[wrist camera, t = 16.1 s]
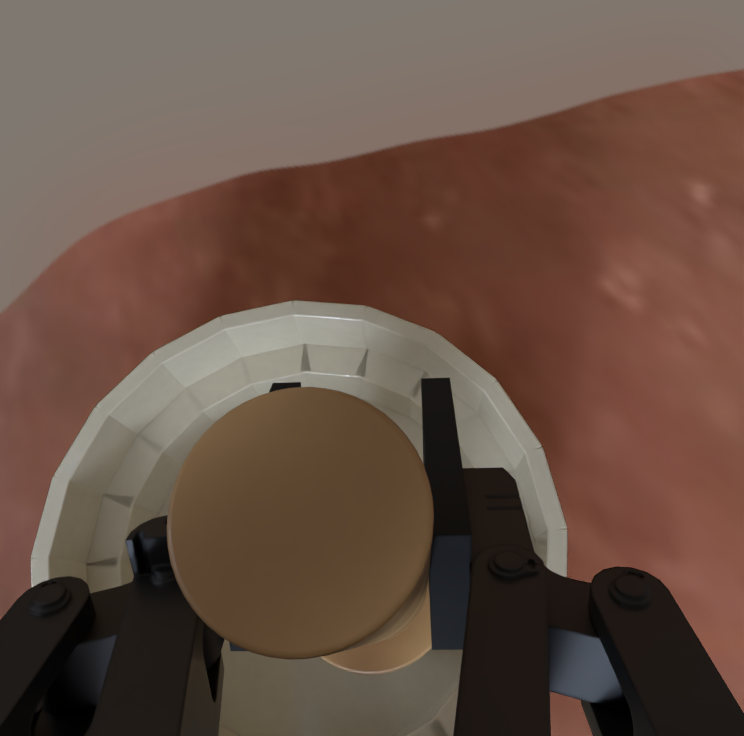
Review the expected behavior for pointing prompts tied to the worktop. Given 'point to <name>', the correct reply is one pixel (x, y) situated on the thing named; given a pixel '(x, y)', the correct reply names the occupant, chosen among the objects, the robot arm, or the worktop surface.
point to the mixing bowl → (230, 389)
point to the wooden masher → (307, 532)
